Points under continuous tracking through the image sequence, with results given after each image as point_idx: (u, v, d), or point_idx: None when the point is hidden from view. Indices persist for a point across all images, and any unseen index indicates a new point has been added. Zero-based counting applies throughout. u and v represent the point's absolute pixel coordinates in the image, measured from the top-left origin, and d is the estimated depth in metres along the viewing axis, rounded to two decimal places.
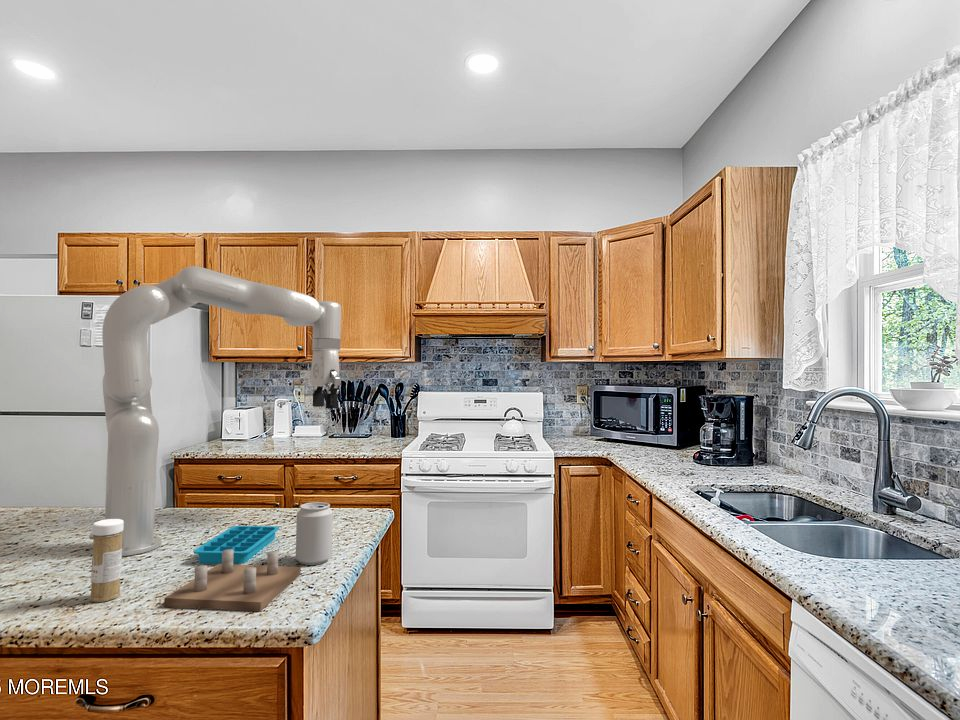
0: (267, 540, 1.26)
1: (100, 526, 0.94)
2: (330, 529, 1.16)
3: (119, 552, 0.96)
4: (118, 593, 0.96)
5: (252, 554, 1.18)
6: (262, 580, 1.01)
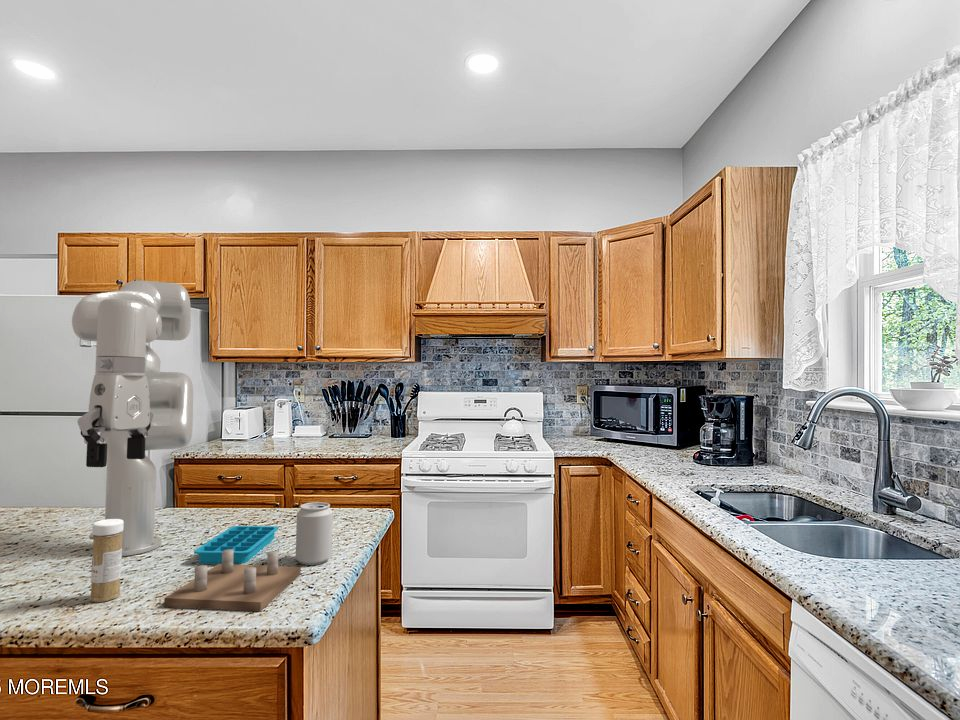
0: (267, 540, 1.26)
1: (100, 527, 0.94)
2: (330, 529, 1.16)
3: (119, 552, 0.96)
4: (118, 593, 0.96)
5: (253, 554, 1.18)
6: (262, 580, 1.01)
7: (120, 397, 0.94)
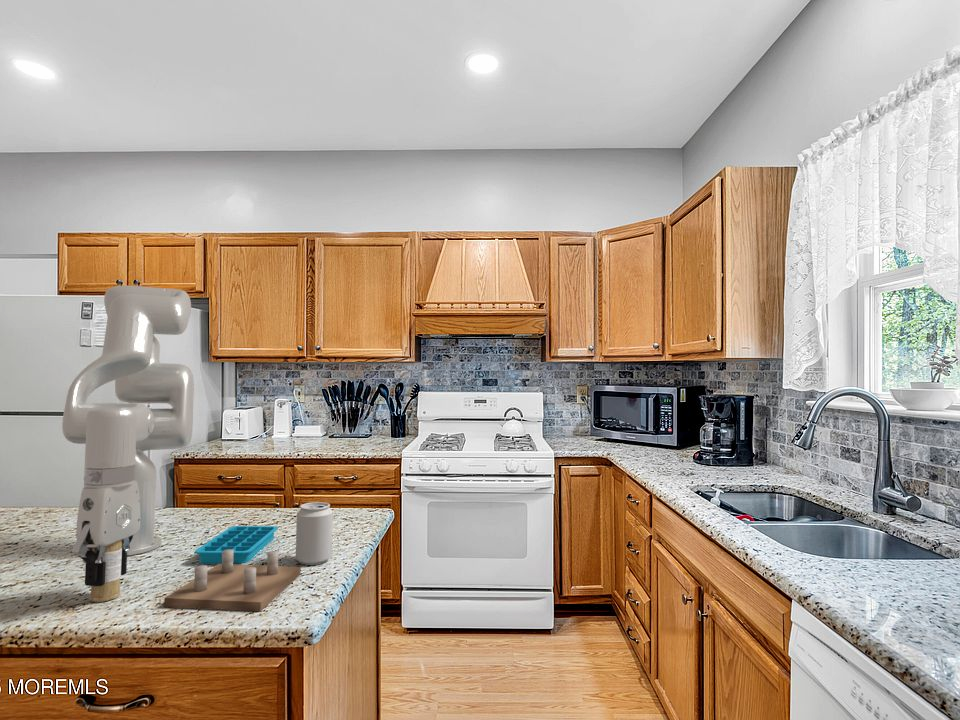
0: (267, 540, 1.26)
1: None
2: (330, 529, 1.16)
3: (119, 552, 0.96)
4: (118, 593, 0.96)
5: (253, 554, 1.18)
6: (262, 580, 1.01)
7: (109, 511, 0.92)
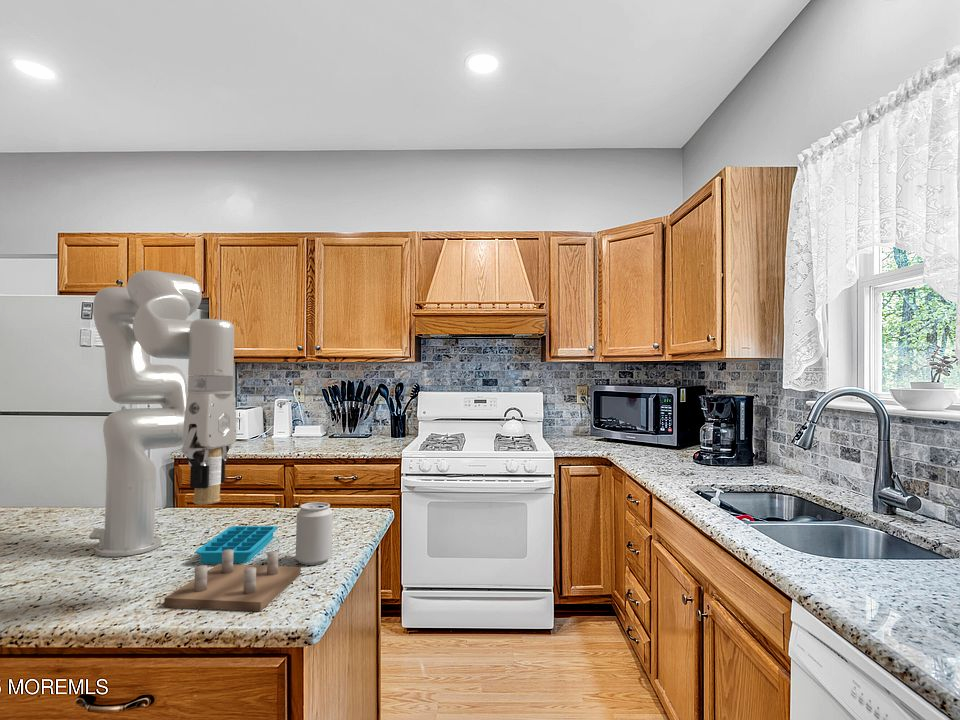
0: (267, 540, 1.26)
1: None
2: (330, 529, 1.16)
3: (220, 459, 1.00)
4: (219, 498, 0.99)
5: (254, 553, 1.18)
6: (262, 580, 1.01)
7: (213, 415, 0.96)
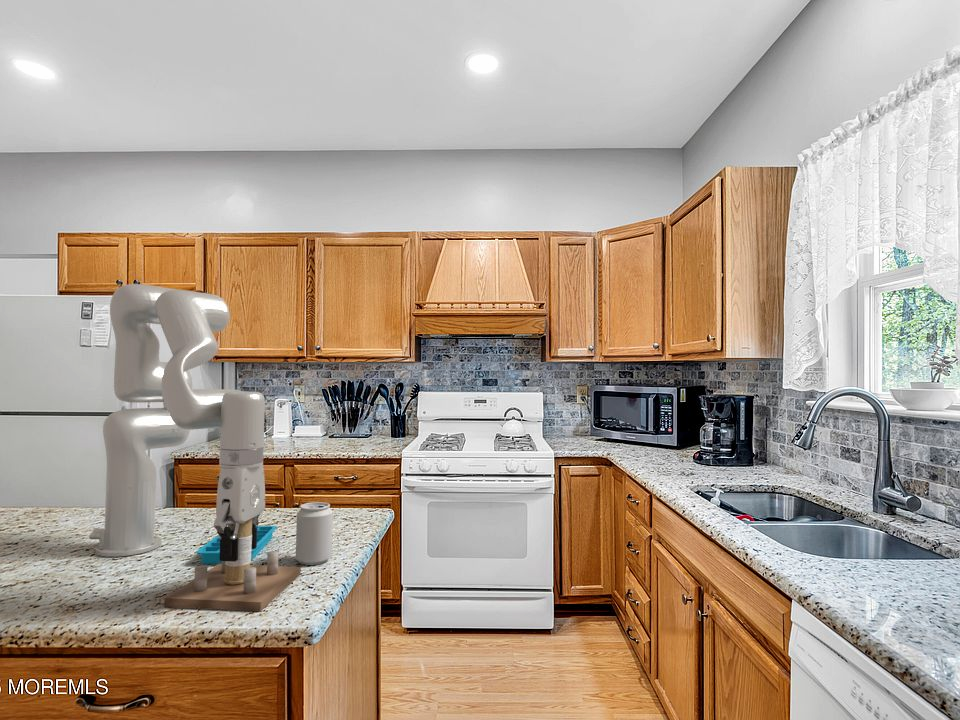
0: (266, 539, 1.27)
1: None
2: (330, 529, 1.16)
3: (251, 538, 1.01)
4: None
5: (255, 553, 1.18)
6: (262, 580, 1.01)
7: (245, 489, 0.97)
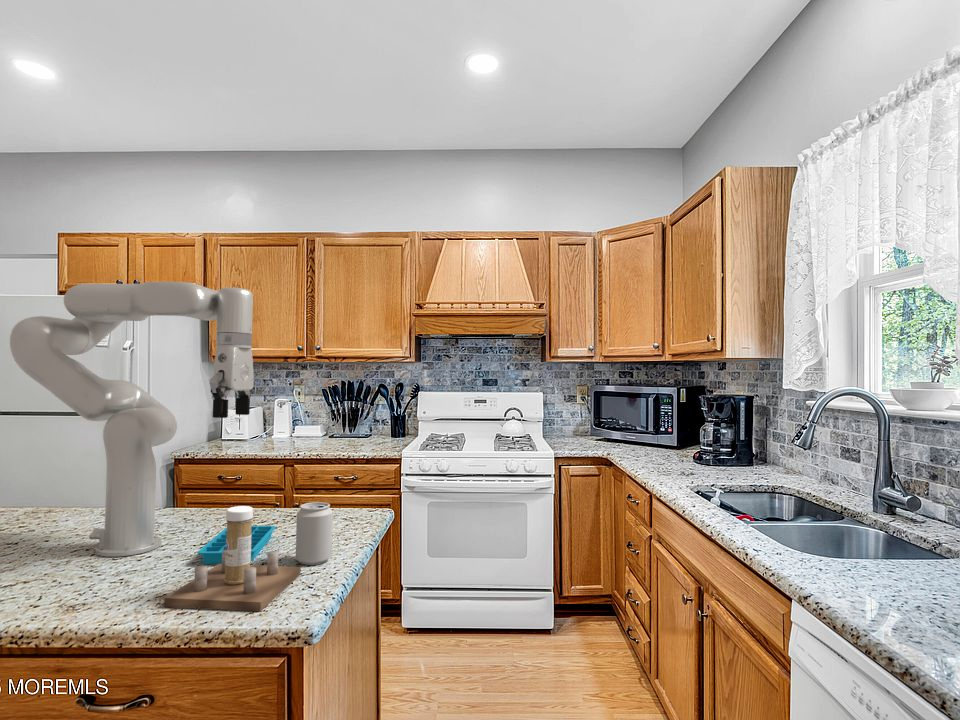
0: (266, 539, 1.27)
1: (235, 513, 0.98)
2: (330, 529, 1.16)
3: (250, 538, 1.01)
4: None
5: (256, 553, 1.18)
6: (262, 580, 1.01)
7: (237, 364, 1.21)
